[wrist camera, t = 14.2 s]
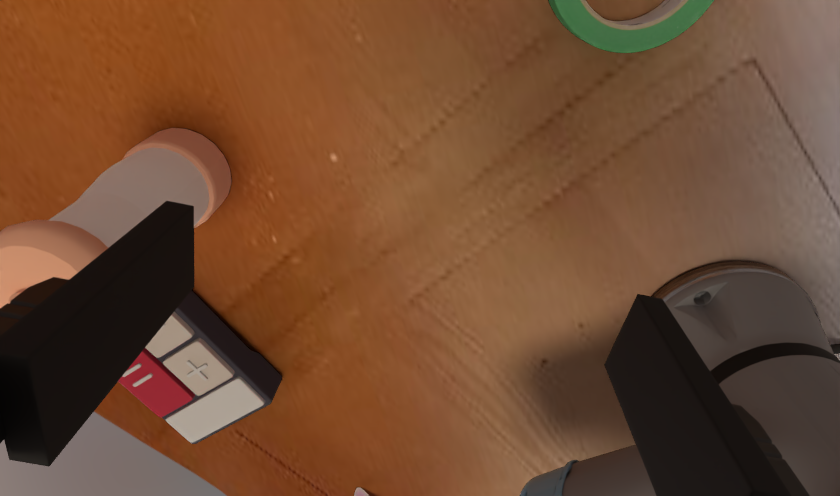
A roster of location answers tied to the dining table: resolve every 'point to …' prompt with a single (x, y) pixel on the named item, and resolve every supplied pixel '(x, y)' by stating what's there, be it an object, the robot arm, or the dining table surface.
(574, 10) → the tape roll
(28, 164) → the dining table surface
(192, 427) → the calculator
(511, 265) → the dining table surface
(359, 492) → the lily
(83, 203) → the salt shaker
